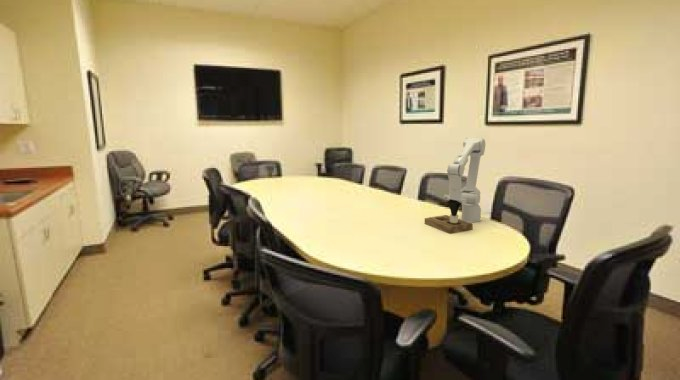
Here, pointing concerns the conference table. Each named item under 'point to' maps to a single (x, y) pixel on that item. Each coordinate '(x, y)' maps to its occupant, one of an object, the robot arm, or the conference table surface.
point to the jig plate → (448, 224)
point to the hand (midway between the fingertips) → (454, 215)
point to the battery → (454, 219)
